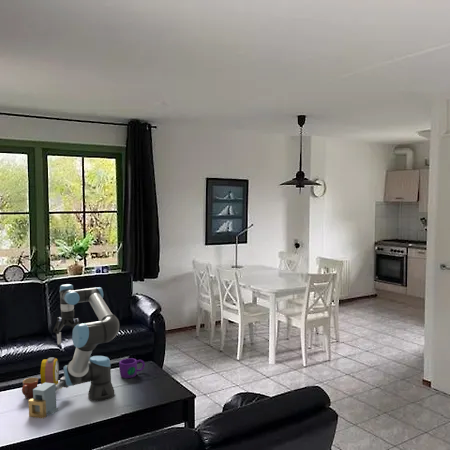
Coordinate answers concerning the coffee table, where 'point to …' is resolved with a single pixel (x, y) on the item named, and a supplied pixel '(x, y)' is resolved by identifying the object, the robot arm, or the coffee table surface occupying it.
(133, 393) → the coffee table surface
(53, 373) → the alarm clock
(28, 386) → the mug
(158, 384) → the coffee table surface
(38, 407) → the pillow block
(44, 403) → the frame
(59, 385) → the shaft
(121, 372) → the mug
